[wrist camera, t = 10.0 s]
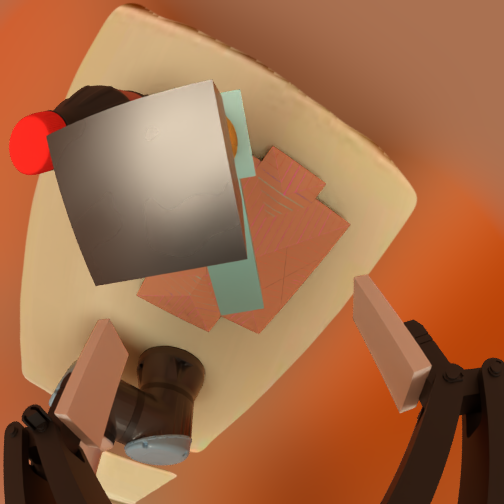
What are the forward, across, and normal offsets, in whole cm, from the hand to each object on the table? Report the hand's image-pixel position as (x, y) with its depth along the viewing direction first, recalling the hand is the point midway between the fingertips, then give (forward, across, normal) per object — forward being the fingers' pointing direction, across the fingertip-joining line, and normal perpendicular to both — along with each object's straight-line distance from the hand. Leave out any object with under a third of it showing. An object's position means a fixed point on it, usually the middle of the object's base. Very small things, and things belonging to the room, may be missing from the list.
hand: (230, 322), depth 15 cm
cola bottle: (+33, +10, -12) cm, 37 cm away
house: (+34, 0, +11) cm, 35 cm away
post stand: (+33, 0, -9) cm, 34 cm away
